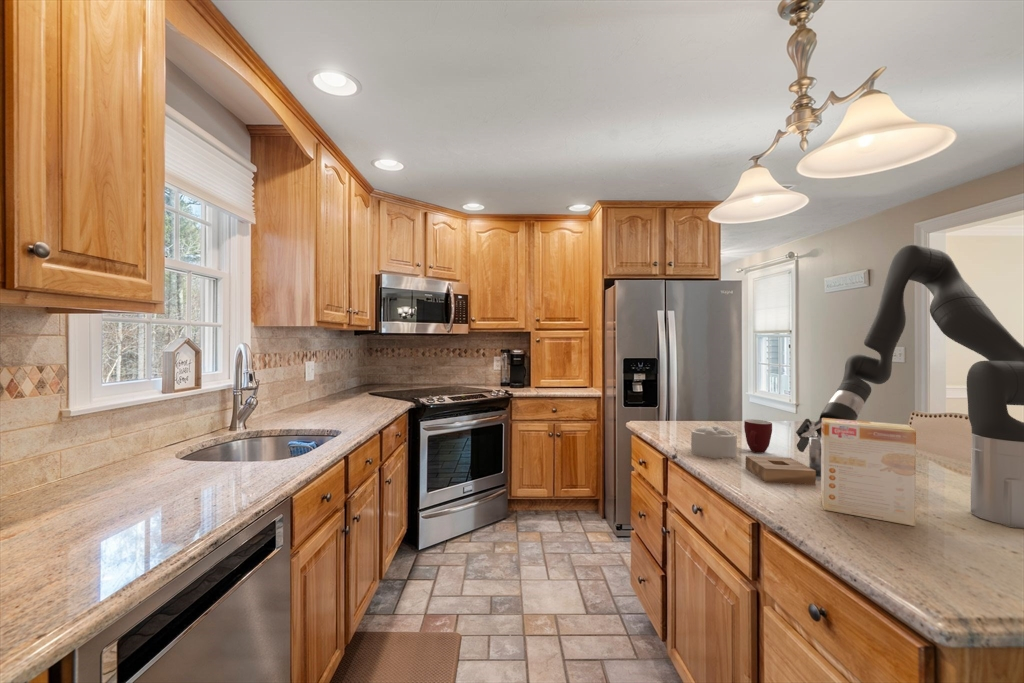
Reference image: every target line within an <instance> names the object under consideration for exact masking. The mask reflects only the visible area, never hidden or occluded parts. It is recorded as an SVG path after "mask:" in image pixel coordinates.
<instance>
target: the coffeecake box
mask: <svg viewBox="0 0 1024 683" xmlns="http://www.w3.org/2000/svg"><path fill="white" fill-rule="evenodd" d="M916 444H917V430H916V429H915V428H913V427H911V426H910V425H909V424H903V423H891V422H890V423H889V422H878V421H866V420H865V421H864V420H856V421H855V420H843V419H831V418H822V428H821V481H820V501H821V502H820V503H821V504H822V508H823V511H829V512H834V513H840V514H846V515H852V516H855V517H856V516H857V517H861V518H862V517H863V518H867V519H873V520H878V521H879V520H880V521H885V522H889V523H894V524H900V525H906V526H912V527H916V517H917V516H916V513H917V512H916V509H917V508H916V505H917V504H916V485H917V484H916V481H917V480H916V479H917V477H916V474H917V471H916V470H917V468H916V467H917V466H916V465H917V458H916V457H917V453H916V452H917V445H916Z"/></svg>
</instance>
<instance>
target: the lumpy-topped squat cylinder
mask: <svg viewBox="0 0 1024 683" xmlns="http://www.w3.org/2000/svg"><path fill="white" fill-rule="evenodd" d="M690 436H691V437H690V441H691V442H690V453H691V454H693V455H695V456H701V457H704V458H705V457H706V458H712V459H718V460H721V459H722V460H723V458H725V459H728V458H729V459H730V458H733V459H734V458H737V455H738V454H737V450H738V447H737V446H738V443H737V442H738V440H737V439H738V436H737V434H736V433H734V432H731V431H730V430H729V429H727V428H725V427H720V426H719V425H713V426H708V425H701V426H699V427H697V428H695V429H693V430H691V433H690Z"/></svg>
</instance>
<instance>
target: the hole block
mask: <svg viewBox="0 0 1024 683" xmlns="http://www.w3.org/2000/svg"><path fill="white" fill-rule="evenodd" d="M745 469H746V470H747V471H748V472H750V473H751V474H753V475H754V476H756V477H757V478H758V479H759V480H761V481H763V483H769V484H785V485H787V484H788V485H790V484H791V485H807V486H816V484H817V483H816V482H817V480H816V471H815V470H813V469H811V468H809V466H808V465H805V464H803V463H802V462H800V461H798V460H796V459H794V458H792V457H786V456H785V457H783V456H782V457H780V456H760V455H758V456H757V455H745Z"/></svg>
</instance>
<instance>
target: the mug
mask: <svg viewBox="0 0 1024 683" xmlns="http://www.w3.org/2000/svg"><path fill="white" fill-rule="evenodd" d="M743 424H744V425H743V426H744V433H745V434H744V435H745V440H746V444H747V446H748V447H749V449H750V451H751V452H752V453H758V454H764V453H765V452H766V451H767V449H768V448H769V446H770V443H771V439H772V434H773V422H772V421H768V420H761V419H745V420H744V423H743Z"/></svg>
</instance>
